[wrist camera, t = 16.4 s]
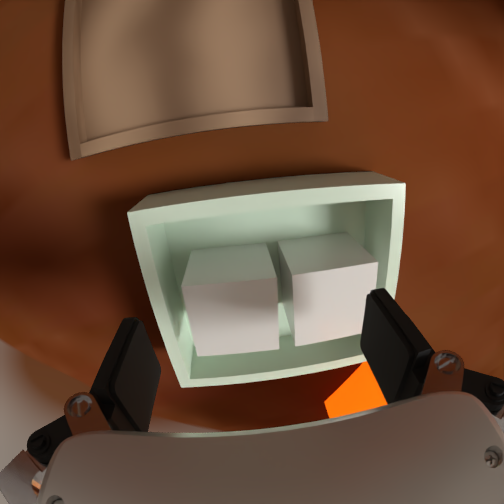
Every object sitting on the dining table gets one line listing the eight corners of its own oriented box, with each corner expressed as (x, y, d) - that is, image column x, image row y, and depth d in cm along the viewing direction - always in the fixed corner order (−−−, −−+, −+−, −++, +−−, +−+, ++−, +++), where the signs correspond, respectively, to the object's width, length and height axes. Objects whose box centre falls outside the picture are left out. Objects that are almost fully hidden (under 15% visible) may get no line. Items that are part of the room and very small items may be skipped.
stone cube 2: (265, 242, 18) (276, 277, 14) (269, 304, 19) (279, 348, 15) (191, 249, 18) (181, 286, 13) (202, 311, 19) (197, 356, 15)
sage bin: (372, 171, 17) (405, 183, 13) (362, 324, 22) (382, 357, 18) (148, 194, 17) (127, 212, 13) (186, 349, 21) (181, 387, 18)
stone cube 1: (346, 232, 18) (378, 261, 14) (345, 292, 20) (370, 331, 15) (277, 240, 18) (292, 275, 14) (282, 302, 20) (295, 346, 15)
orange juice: (374, 349, 23) (471, 544, 5) (424, 367, 25) (507, 509, 7) (322, 402, 26) (374, 582, 7) (377, 412, 28) (433, 551, 9)
